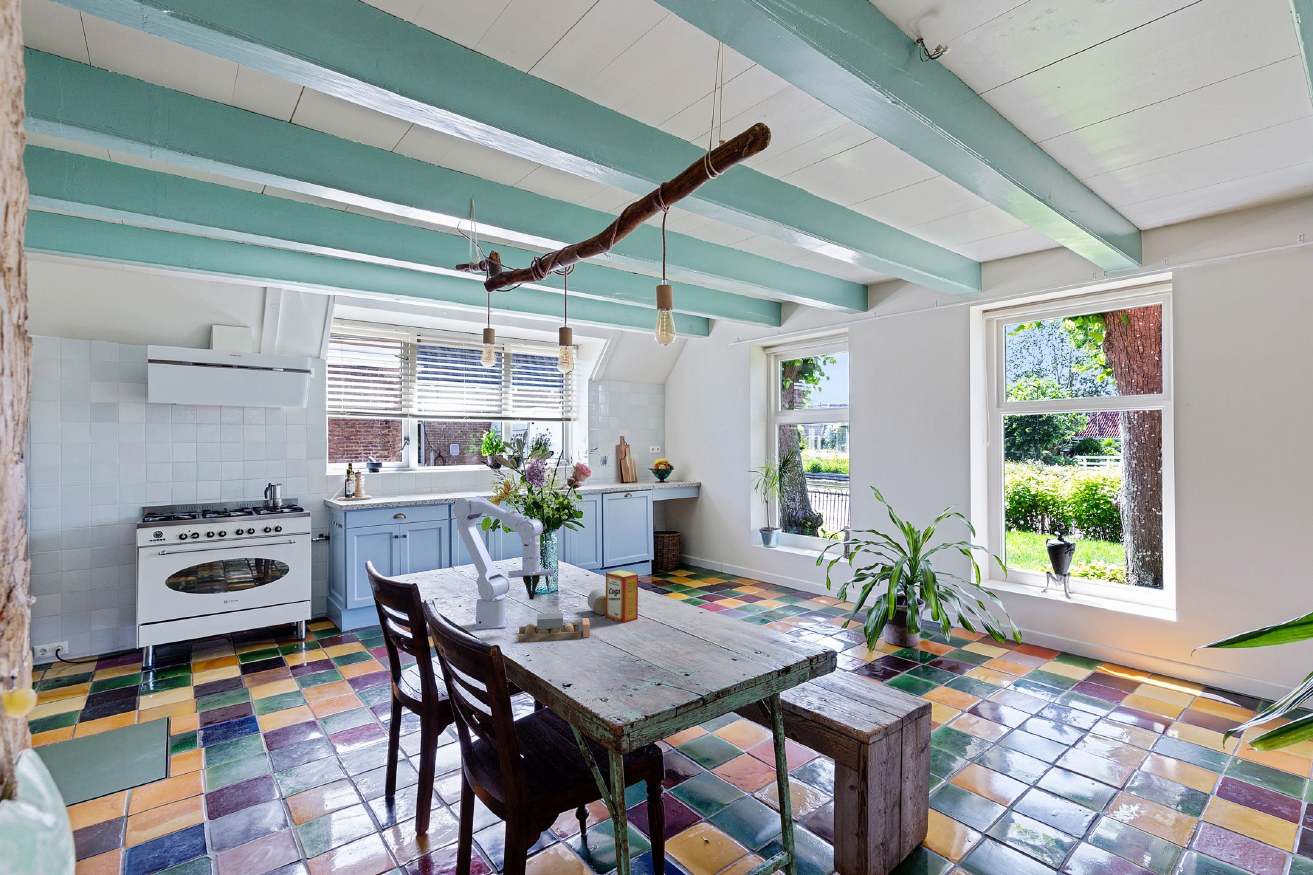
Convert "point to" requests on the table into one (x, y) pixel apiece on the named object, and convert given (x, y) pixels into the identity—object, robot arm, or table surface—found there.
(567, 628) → the roller
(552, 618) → the slab
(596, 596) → the ceramic mug
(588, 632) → the block
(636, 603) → the baking soda box
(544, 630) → the roller track
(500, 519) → the robot arm
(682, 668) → the table surface
